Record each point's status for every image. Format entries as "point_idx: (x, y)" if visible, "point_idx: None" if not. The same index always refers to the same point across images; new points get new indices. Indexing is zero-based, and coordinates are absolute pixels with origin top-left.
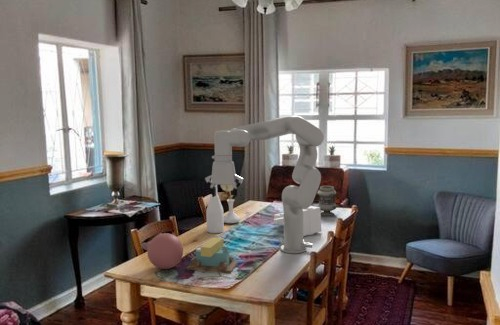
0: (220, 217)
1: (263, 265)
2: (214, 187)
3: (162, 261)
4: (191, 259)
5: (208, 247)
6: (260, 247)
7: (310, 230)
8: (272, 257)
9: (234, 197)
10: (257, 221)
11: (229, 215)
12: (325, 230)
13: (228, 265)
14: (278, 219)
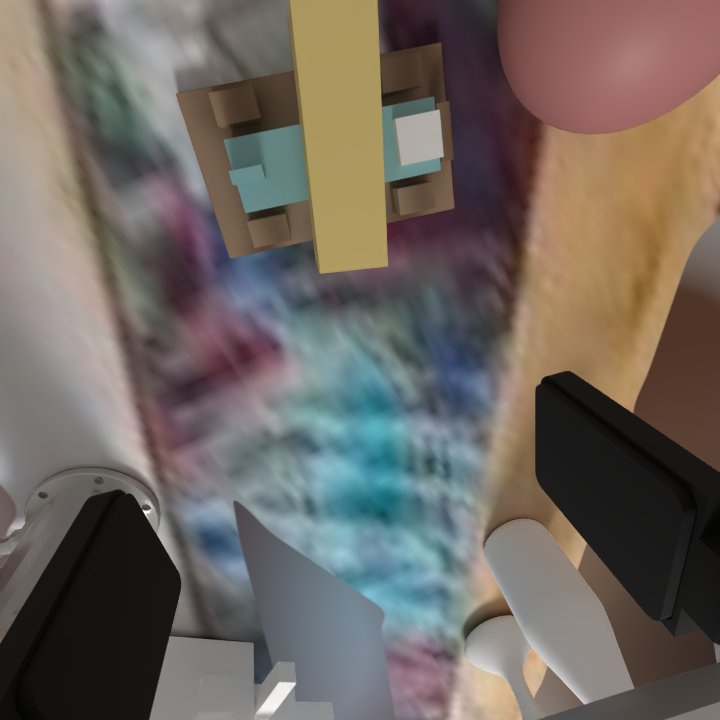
0: (518, 595)
1: (91, 281)
2: (686, 590)
3: None
4: (448, 112)
5: (307, 1)
6: (250, 475)
7: None
8: (122, 395)
9: (100, 494)
10: (407, 674)
11: (509, 653)
12: None
13: None
14: (273, 689)
